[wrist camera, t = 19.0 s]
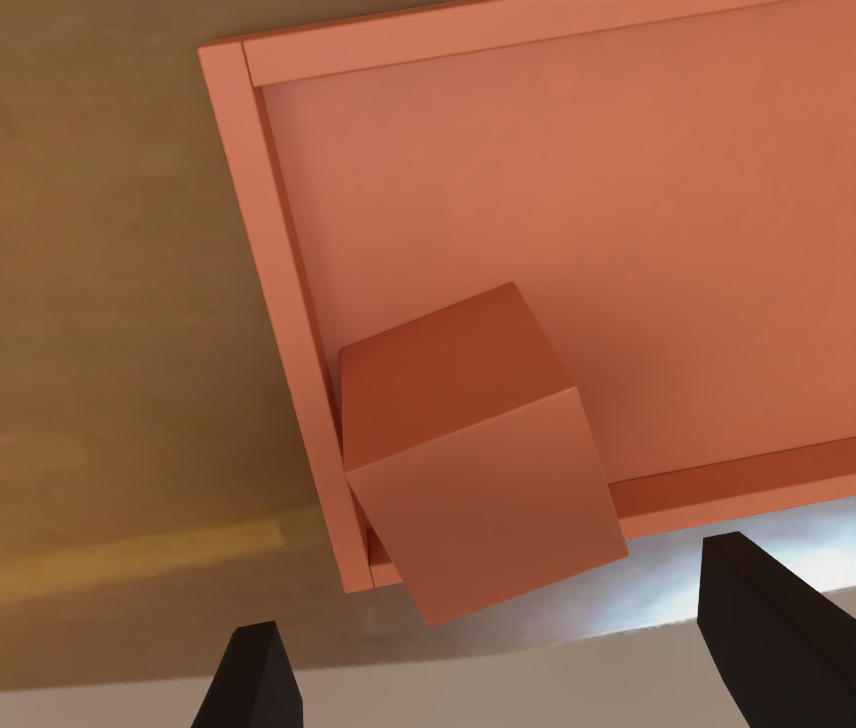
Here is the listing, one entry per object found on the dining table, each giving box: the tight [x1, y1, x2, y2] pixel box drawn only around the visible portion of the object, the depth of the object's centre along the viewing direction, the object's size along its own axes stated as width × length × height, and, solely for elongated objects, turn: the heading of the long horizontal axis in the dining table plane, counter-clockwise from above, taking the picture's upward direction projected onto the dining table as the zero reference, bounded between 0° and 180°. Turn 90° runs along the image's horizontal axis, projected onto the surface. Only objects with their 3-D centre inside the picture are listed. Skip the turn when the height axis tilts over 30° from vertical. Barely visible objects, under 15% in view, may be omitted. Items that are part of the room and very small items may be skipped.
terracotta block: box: [340, 282, 629, 627], centre depth 16 cm, size 4×4×5 cm
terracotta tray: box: [197, 0, 856, 593], centre depth 17 cm, size 28×14×2 cm, turn 98°
